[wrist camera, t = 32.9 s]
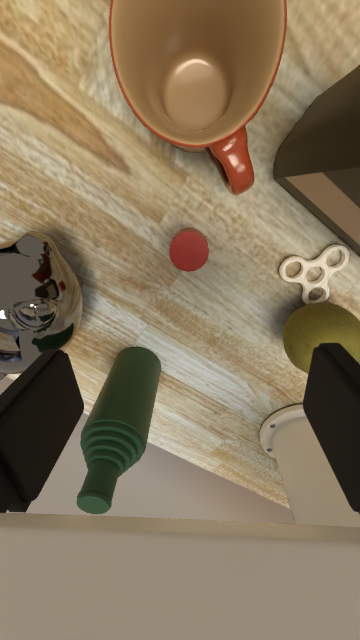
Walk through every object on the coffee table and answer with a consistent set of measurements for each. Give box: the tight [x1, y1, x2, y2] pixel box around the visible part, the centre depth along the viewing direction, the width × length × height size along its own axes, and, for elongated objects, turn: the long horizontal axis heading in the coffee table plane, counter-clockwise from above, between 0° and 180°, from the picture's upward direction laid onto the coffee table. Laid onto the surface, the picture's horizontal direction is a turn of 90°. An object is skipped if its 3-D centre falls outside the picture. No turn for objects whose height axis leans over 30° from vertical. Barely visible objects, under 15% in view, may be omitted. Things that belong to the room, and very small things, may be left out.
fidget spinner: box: [279, 244, 349, 305], centre depth 27 cm, size 7×6×1 cm
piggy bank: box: [0, 231, 83, 380], centre depth 25 cm, size 11×15×12 cm
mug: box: [109, 0, 287, 195], centre depth 18 cm, size 12×9×10 cm
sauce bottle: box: [77, 347, 161, 514], centre depth 27 cm, size 6×6×18 cm
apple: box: [283, 302, 360, 374], centre depth 27 cm, size 8×8×7 cm
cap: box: [169, 228, 209, 271], centre depth 26 cm, size 4×4×3 cm
